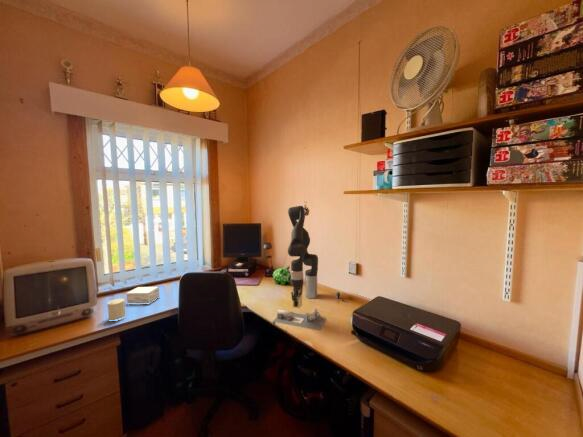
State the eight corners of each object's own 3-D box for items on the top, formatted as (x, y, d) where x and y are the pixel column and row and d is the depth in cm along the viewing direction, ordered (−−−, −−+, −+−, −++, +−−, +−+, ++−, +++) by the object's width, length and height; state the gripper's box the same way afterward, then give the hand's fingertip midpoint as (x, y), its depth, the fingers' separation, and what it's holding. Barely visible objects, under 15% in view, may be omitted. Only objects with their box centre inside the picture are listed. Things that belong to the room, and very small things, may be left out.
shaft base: (283, 311, 162) (283, 303, 161) (327, 319, 150) (327, 310, 150) (272, 323, 147) (272, 314, 146) (320, 332, 136) (320, 322, 135)
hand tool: (358, 338, 130) (358, 330, 129) (351, 336, 132) (351, 328, 131) (366, 323, 146) (366, 315, 146) (359, 321, 148) (360, 314, 148)
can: (105, 320, 154) (103, 302, 153) (119, 314, 162) (118, 297, 161) (114, 323, 150) (113, 304, 149) (129, 316, 159) (128, 298, 158)
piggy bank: (286, 287, 206) (286, 270, 205) (269, 284, 216) (269, 267, 215) (295, 282, 218) (295, 266, 217) (279, 279, 228) (278, 264, 227)
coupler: (292, 307, 146) (292, 294, 145) (295, 304, 150) (295, 292, 149) (299, 308, 144) (299, 295, 143) (302, 305, 148) (302, 293, 148)
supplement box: (159, 297, 189) (159, 286, 188) (149, 305, 176) (148, 292, 175) (138, 297, 190) (138, 286, 189) (126, 305, 177) (125, 292, 176)
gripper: (295, 273, 154) (295, 299, 155) (286, 280, 140) (287, 308, 142) (306, 274, 151) (306, 301, 152) (298, 281, 138) (299, 310, 139)
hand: (297, 304), depth 147 cm, fingers closed on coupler, 4 cm apart
